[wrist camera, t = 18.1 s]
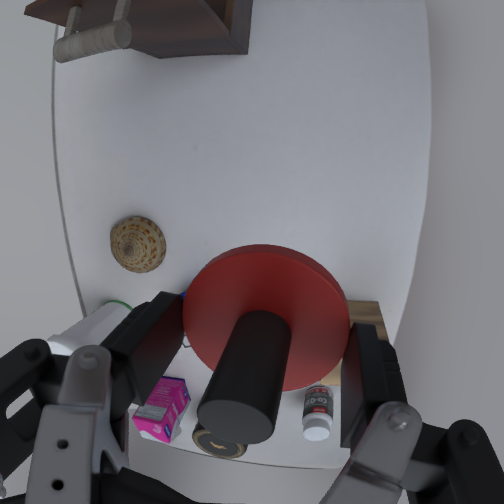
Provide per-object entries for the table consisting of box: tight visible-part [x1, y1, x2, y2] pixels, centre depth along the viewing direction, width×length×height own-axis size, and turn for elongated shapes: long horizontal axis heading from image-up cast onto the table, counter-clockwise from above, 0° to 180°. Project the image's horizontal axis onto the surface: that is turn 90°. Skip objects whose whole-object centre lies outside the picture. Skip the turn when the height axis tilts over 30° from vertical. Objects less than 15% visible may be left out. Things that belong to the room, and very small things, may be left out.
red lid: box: [182, 244, 351, 444], centre depth 9 cm, size 6×6×5 cm
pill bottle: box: [302, 387, 333, 441], centre depth 43 cm, size 5×5×8 cm
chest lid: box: [24, 0, 229, 63], centre depth 18 cm, size 14×12×5 cm
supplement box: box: [132, 376, 191, 444], centre depth 47 cm, size 6×6×12 cm
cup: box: [46, 301, 133, 356], centre depth 42 cm, size 12×12×15 cm
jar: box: [192, 420, 248, 458], centre depth 49 cm, size 10×10×8 cm
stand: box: [320, 300, 389, 386], centre depth 36 cm, size 7×7×9 cm
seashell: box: [110, 217, 166, 273], centre depth 42 cm, size 8×6×8 cm
